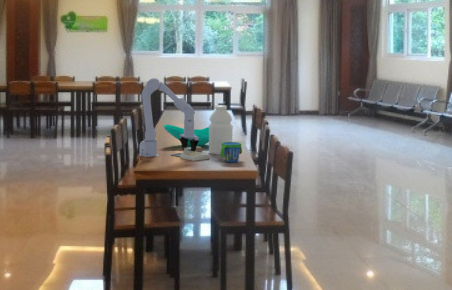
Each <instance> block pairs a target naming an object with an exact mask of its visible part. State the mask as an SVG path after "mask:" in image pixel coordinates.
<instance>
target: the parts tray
mask: <svg viewBox="0 0 452 290" xmlns="http://www.w3.org/2000/svg"><path fill="white" fill-rule="evenodd" d="M182 153H183V152H177V153H176V152H175V153H171V154H170V156H172V157H177V158H181V154H182ZM202 153H205V154H208V153H207V152H203V151H202Z"/></svg>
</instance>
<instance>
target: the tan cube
mask: <svg viewBox="0 0 452 290" xmlns="http://www.w3.org/2000/svg"><path fill="white" fill-rule="evenodd" d="M195 152H200V153H202V152H203V146H200V147H199V146H196V150H195Z"/></svg>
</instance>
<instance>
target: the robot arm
mask: <svg viewBox="0 0 452 290" xmlns="http://www.w3.org/2000/svg"><path fill="white" fill-rule="evenodd" d="M157 90H158V91H159V92H163V93H164V94H166V95H167V97H169V98H170V99H171V100H172V101H173V105H174V107H176V108H177V110H179V111H180V112H181V113H183V114H184V119H183V129H184V134H180V138H181V139H179V140H178V141H180V144H181V147H182V151H183V152H184V148H187V147H188V146H187V144H188V140H189V139H192V140H189V141H190V144H191V146H190V147H191V151H195V150H196V146H197V144H198V142H199V140H198V137H197V136H195V135H194V129H195V109H194V108H193V107H192V106H191V104H190V103H188V102H187V101H186V100H185V98H184V97H181V96H177V95H176V94H175V93H174V92H173V90H171V88H169V87H168V86H167V85H166V84H165V83H163V82H162V81H160V80H159V79H158V78H156V77H151V78H150V79H149V80H148V81H147V82H146V84H145V86H144V87H143V89H142V91H141V99H142V106H143V107H142V108H143V115H144V123H145V124H144V125H145V131H144V139H143V140H142V141H140V143H139V154H138V156H140V157H144V158H149V157H151V158H152V157H157V156H159V157H160V156H161V155H160V154H158V144H157V143H158V139H156V138H157V131H156V129H155V128H154V122H153V121H154V120H153V119H154V118H153V110H152V103H151V95H152V94H153V93H154V92H155V91H157Z"/></svg>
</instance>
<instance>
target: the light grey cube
mask: <svg viewBox="0 0 452 290" xmlns="http://www.w3.org/2000/svg"><path fill="white" fill-rule="evenodd" d="M187 151H191V146H187V148H184V151H183V153H187Z"/></svg>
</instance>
